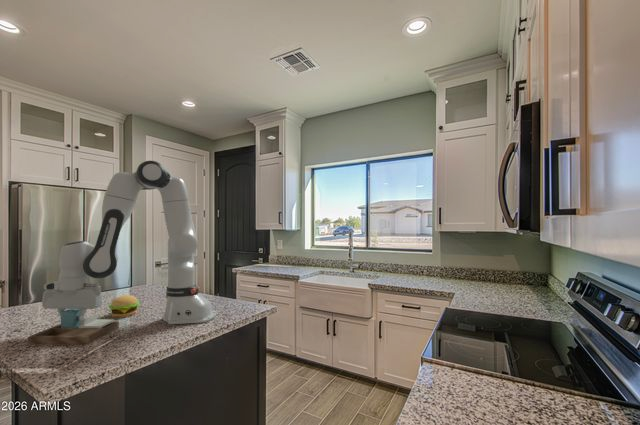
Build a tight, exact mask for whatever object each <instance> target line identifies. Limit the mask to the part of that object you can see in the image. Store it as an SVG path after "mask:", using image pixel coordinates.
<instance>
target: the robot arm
mask: <svg viewBox="0 0 640 425" xmlns="http://www.w3.org/2000/svg"><path fill="white" fill-rule="evenodd" d="M155 189H157V190H158V192H159V193H160V195H161V204H162V208H163V209H162V210H163V215H164V221H165V225H166V230H167V234H168V239H167V240H168V241H167V268H168V270H167V271H168V272H167V286H166V292H165V293H166V294H165V297H166V303H165V310H164V313H163V316H162V321H164V322H166V323H167V325H179V324H180V325H183V324H184V325H186V324H199V323H200V324H201V323H206V322H207V323H208V322H210V321H212V320H213V319H215V318H216V317H217V311H216V310H212V309H213V307H212V303H211V301H210V300H209V299H208V298H206V297H204V296H203V295H202V294H201V293H199V290H200V289H201V286H199V285H198V286H197V285H196V283H195V279H196V278H195V277H196V266H195V255H194V254H195V252H196V251H197V249H198V246H199V242H198V237H197V231H196V228H195V224H194V223H195V222H194V221H193V216H192V209H191V203H190V197H189V192H188V188H187V185H186V183H185V181H184V179H182V178H180V177H179V176H178V177H177V176H171V174H170V173H169V172H168V171H167V169H166V168H165V167H164V165H162V164H161V163H159V162H158V161H156V160H145V161H142V162H141V163H140V164H139V165H138V167H137V168H136V171H135V172H131V173H130V172H126V171H120V172H116V173H115V174H113V176H112V177H111V179H110V181H109V183H108V185H107V187H106V190H105V193H104V196H103V200H102V208H101V226H100V230H99V233H98V236H97V240H96V242H95V245H94V244H92V243H90V242H89V241H87V240H79V241H78V240H77V241H73V242H68V243H66V244H64V245H63V246H62V247H61V248H60V253H59V258H58V259H59V260H58V267H59V274H58V279H57V280H55V281H52V282H51V281H50V282H48V283H45V284H43V290H44V291H43V293H42V298H41V300H42V303H41V306H42V308H43V309H45V310H47V309H51V310H53V309H54V310H57V313H58V315H59V316H60V317H61V312H63V311H66V310H69V309H79V312H80V314H79V315H78V316H76V318H77V319H76V320H82V319H85V318H84V317H85V314H86V313H87V311H88V310H93V309H98V308H100V307H101V305H102V304H103V298H102V297H103V296H102V287H101V286H100V285H98V284H97V283H89V277H90V278H94V279H103V278H106V277H108V276H110V275H112V274H113V273H114V272H115V271H116V268H117V266H118V265H117V264H118V260H119V258H118V254H117V253H116V249H117V248H116V247H117V244H118V240H119V237H120V233H121V231H122V228H123V227H124V225H125V223H126V222H127V221H128V220H129V218H130V217H131V215H132V213H133V212H134V209H135V207H136V203H137V200H138V197H139V196H138V195H139V193H140V191H141V190H146V191H147V190H150V191H151V190H155Z"/></svg>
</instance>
